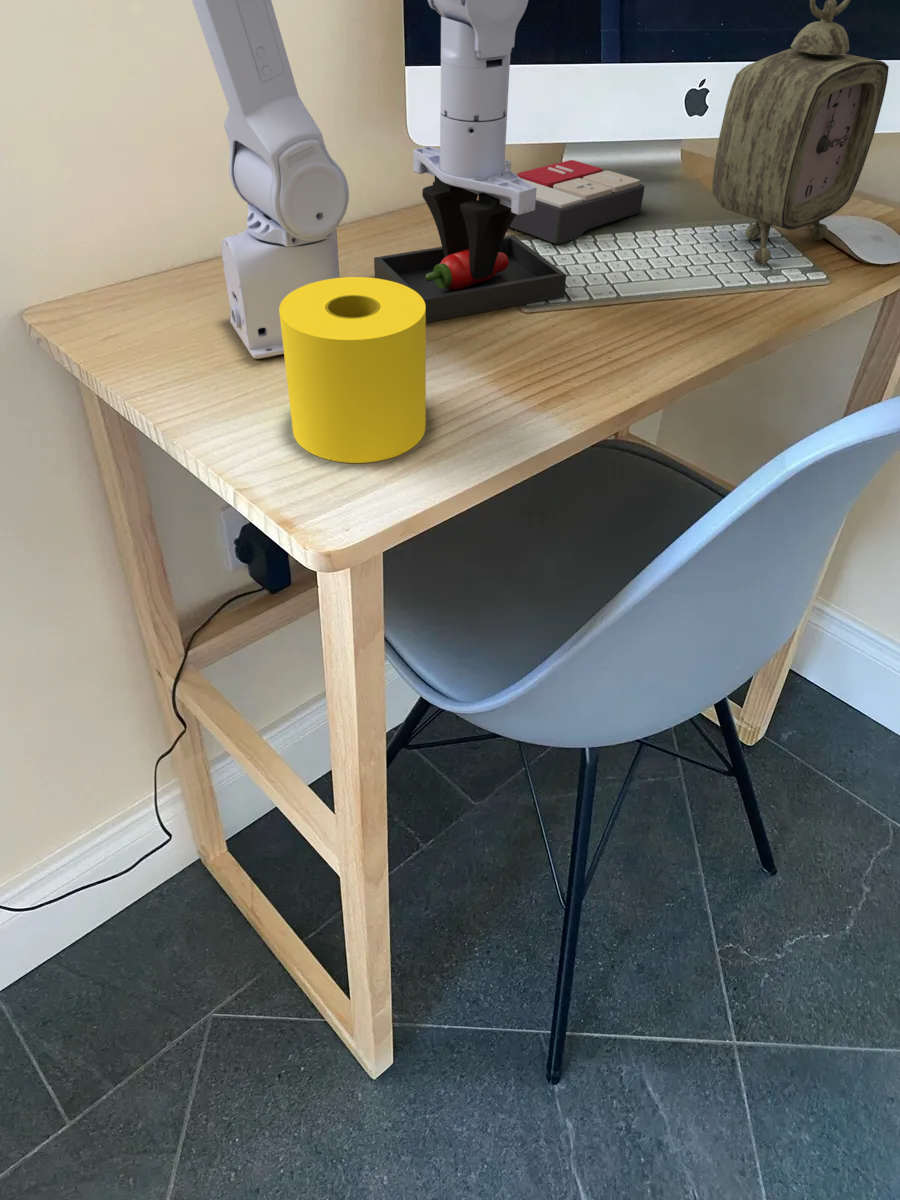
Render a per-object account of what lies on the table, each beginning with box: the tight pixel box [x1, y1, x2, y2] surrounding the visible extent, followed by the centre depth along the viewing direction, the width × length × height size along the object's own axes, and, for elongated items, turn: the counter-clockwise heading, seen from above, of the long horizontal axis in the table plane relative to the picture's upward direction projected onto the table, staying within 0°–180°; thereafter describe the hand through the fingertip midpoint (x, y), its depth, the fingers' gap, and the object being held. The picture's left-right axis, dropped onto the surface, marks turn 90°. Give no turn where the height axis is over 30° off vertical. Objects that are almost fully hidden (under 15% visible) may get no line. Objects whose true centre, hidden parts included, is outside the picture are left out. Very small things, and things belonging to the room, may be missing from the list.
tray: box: [373, 234, 567, 323], centre depth 87 cm, size 15×11×2 cm
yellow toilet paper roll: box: [279, 276, 427, 464], centre depth 66 cm, size 10×10×9 cm
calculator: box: [509, 159, 646, 245], centre depth 102 cm, size 11×4×15 cm
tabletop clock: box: [711, 0, 890, 265], centre depth 89 cm, size 14×9×25 cm, turn 131°
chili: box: [425, 249, 509, 290], centre depth 86 cm, size 10×3×3 cm, turn 130°
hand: (469, 270), depth 87 cm, fingers closed on chili, 3 cm apart
